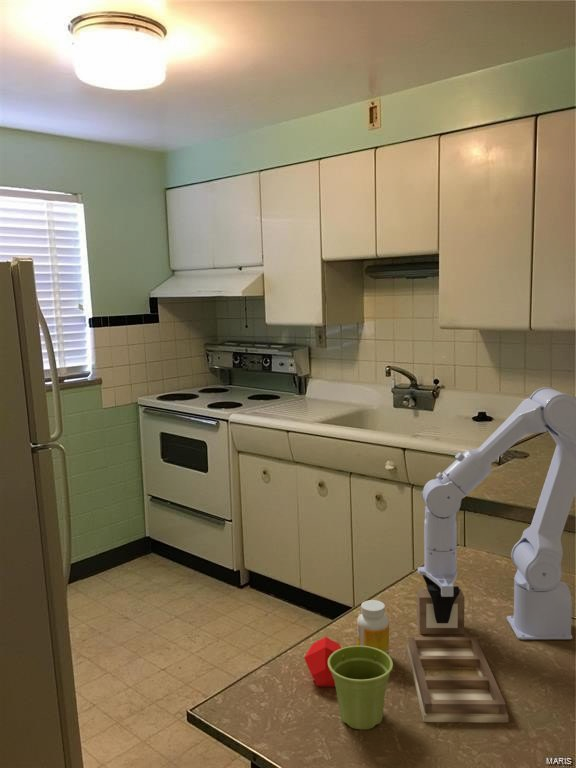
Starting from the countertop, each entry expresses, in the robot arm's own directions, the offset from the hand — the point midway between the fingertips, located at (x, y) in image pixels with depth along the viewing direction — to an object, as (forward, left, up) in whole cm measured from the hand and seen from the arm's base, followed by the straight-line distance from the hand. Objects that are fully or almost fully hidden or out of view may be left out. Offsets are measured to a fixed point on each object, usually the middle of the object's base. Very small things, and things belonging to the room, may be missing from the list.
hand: (440, 616), depth 121 cm
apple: (+21, +16, -3) cm, 27 cm away
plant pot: (+16, +26, -3) cm, 31 cm away
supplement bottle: (+13, +10, -3) cm, 17 cm away
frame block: (0, 0, -2) cm, 2 cm away
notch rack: (+1, +17, -2) cm, 17 cm away
